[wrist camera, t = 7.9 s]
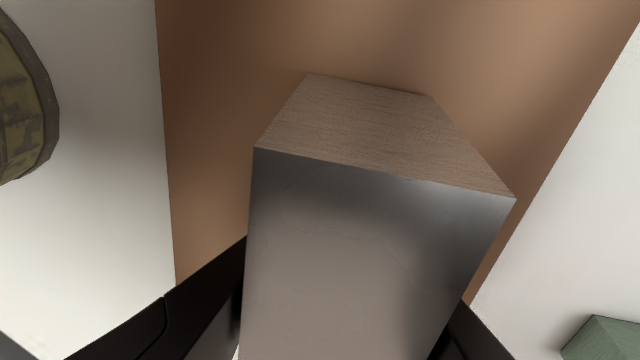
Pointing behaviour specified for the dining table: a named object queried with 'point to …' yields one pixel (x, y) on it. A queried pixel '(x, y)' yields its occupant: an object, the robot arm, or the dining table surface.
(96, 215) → the dining table surface
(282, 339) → the steel bar
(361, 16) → the walnut mat
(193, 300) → the robot arm
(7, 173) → the thermos
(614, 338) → the green base
